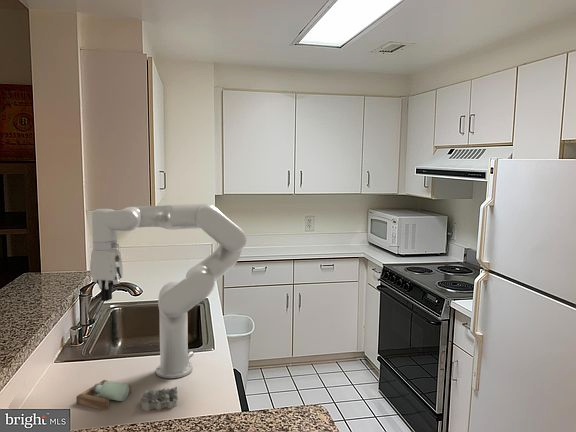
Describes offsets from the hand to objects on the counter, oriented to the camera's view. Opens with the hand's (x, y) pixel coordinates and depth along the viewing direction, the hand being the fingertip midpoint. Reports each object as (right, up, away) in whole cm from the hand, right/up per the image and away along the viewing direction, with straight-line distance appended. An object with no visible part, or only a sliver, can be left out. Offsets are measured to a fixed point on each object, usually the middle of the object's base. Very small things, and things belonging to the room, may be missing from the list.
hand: (106, 299), depth 152 cm
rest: (+4, -28, -12) cm, 31 cm away
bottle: (+11, -26, -13) cm, 31 cm away
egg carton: (+22, -29, -15) cm, 40 cm away
